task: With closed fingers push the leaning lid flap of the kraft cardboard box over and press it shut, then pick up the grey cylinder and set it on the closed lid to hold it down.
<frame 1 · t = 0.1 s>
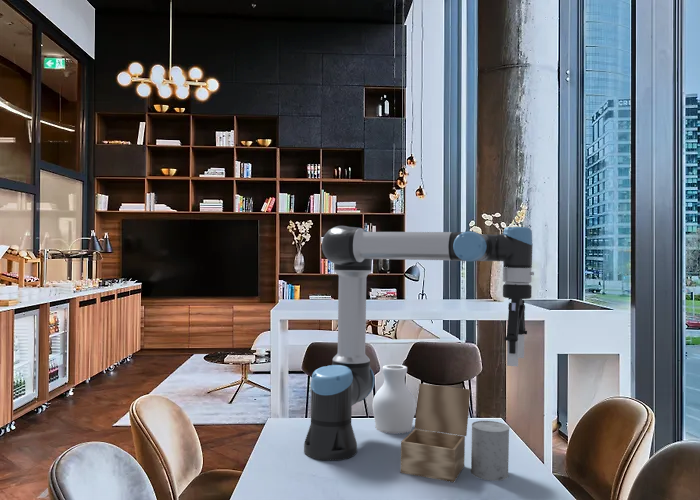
hand: (515, 361, 152), 28 cm above the table, fingers open, 13 cm apart
grey cylinder: (489, 474, 145), on the table
lid: (442, 409, 155), point 14 cm above the table, hinge at 110.0°
vase: (393, 428, 182), on the table
box: (433, 469, 147), on the table
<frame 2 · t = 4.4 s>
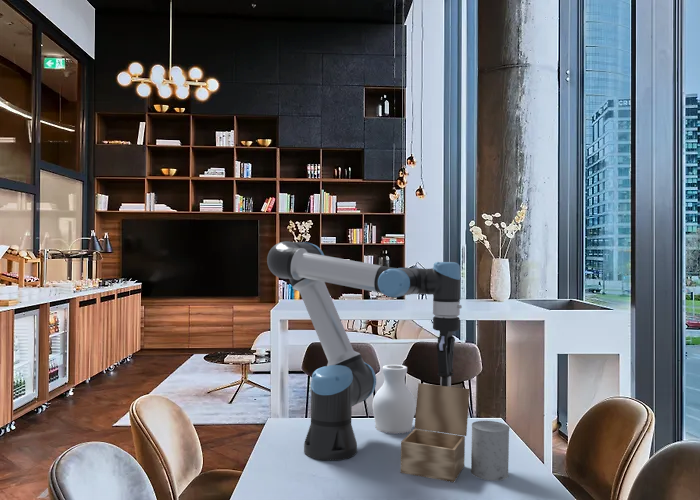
hand: (445, 399, 158), 16 cm above the table, fingers closed
lid: (441, 408, 154), point 14 cm above the table, hinge at 104.7°, touching gripper
everything else where it was.
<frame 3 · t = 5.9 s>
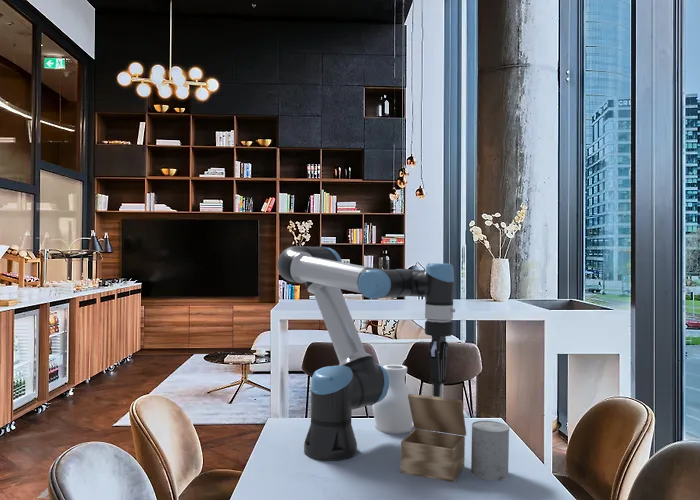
hand: (437, 407, 150), 15 cm above the table, fingers closed
lid: (437, 414, 150), point 13 cm above the table, hinge at 57.8°, touching gripper
everything else where it was.
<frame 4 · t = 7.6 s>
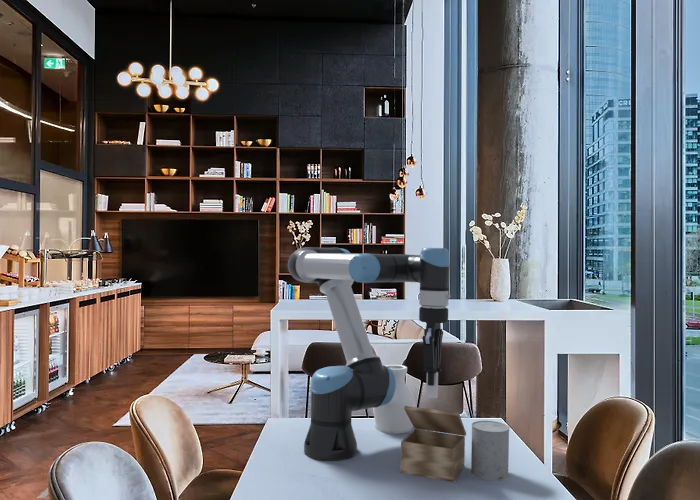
hand: (431, 396, 145), 19 cm above the table, fingers closed
lid: (435, 420, 148), point 12 cm above the table, hinge at 39.2°
everything else where it was.
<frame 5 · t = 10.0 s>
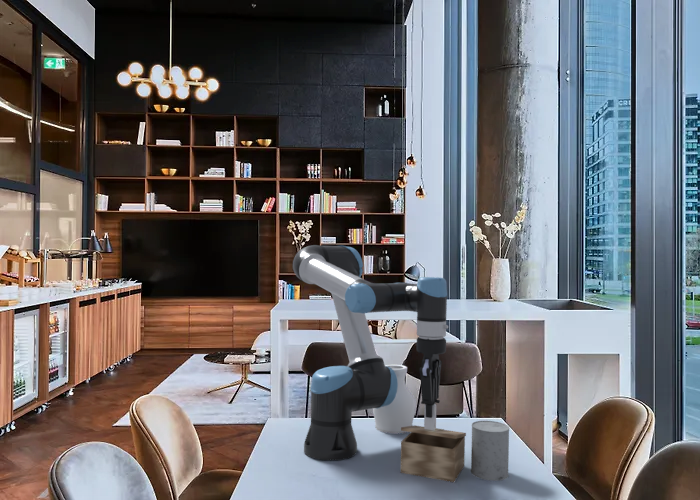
hand: (430, 428, 143), 12 cm above the table, fingers closed
lid: (434, 431, 147), point 10 cm above the table, hinge at 13.0°
everything else where it was.
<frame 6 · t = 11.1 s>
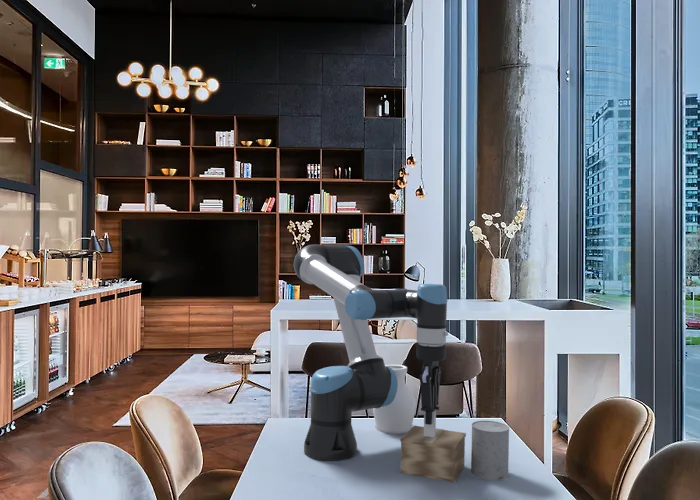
hand: (429, 435, 143), 10 cm above the table, fingers closed
lid: (433, 437, 147), point 8 cm above the table, hinge at 0.0°, touching box
everything else where it was.
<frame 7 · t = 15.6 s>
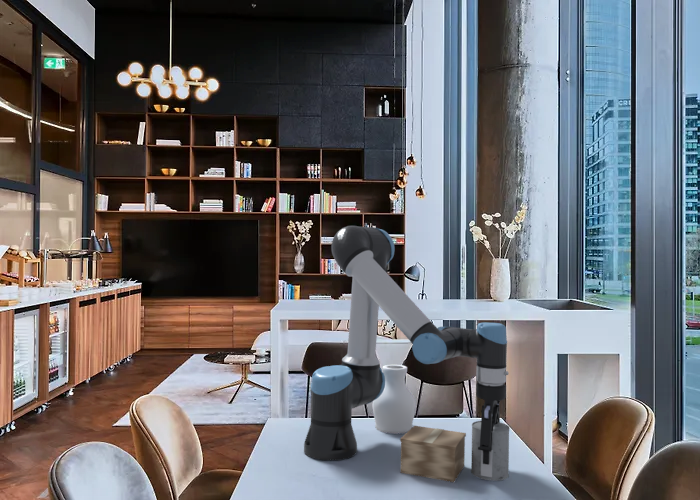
hand: (489, 468, 145), 1 cm above the table, fingers closed on grey cylinder, 9 cm apart
grey cylinder: (489, 474, 145), on the table, touching gripper
everything else where it was.
when the fingers open (12 cm above the table, at t = 20.1 s): grey cylinder drops 2 cm, resting on lid.
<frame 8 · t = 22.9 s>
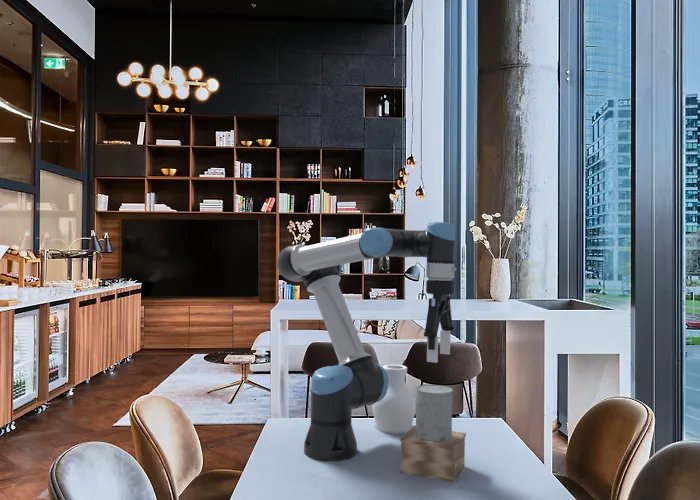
hand: (438, 357, 151), 29 cm above the table, fingers open, 13 cm apart
grey cylinder: (433, 436, 147), point 9 cm above the table, touching lid
lid: (433, 437, 147), point 8 cm above the table, hinge at 0.0°, touching grey cylinder, box
everything else where it was.
at the end: lid at +0° (first picture: +110°); grey cylinder 0.1 cm from the box (horizontally); grey cylinder point 8.7 cm above the table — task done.
